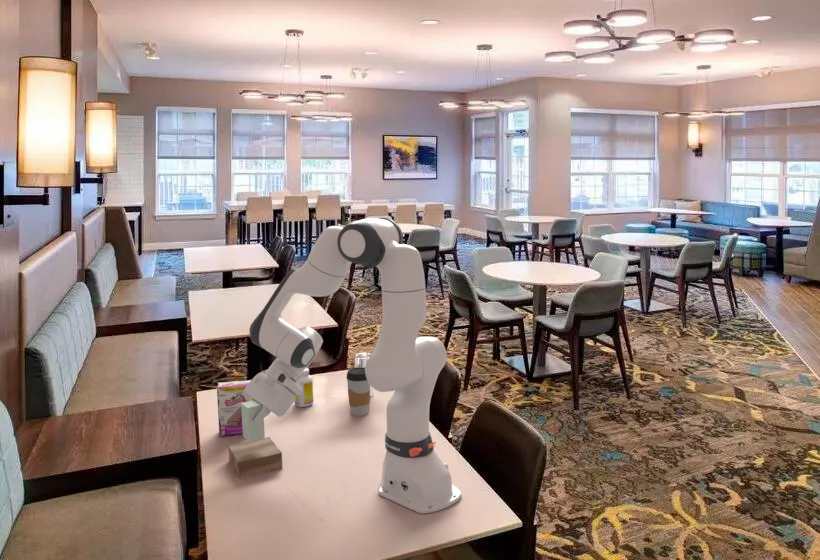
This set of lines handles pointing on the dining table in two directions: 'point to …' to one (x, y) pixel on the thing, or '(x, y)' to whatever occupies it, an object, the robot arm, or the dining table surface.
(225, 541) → the dining table surface
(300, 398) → the supplement bottle
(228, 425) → the candy bar box
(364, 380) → the coffee cup
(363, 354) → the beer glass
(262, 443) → the walnut block
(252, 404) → the sage pillar
